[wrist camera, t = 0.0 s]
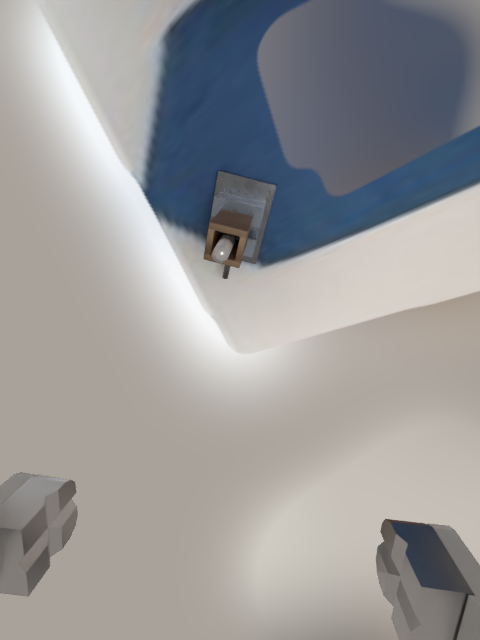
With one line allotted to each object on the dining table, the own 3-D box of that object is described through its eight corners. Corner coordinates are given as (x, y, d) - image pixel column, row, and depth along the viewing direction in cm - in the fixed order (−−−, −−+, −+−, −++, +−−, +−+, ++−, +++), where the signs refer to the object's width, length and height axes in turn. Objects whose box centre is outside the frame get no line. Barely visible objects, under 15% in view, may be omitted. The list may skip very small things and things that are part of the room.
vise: (220, 170, 51) (186, 182, 32) (276, 184, 51) (276, 206, 32) (204, 262, 59) (171, 315, 40) (252, 274, 59) (241, 332, 41)
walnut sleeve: (222, 208, 46) (209, 222, 37) (253, 216, 46) (247, 232, 38) (216, 239, 49) (203, 259, 40) (245, 247, 49) (239, 268, 40)
